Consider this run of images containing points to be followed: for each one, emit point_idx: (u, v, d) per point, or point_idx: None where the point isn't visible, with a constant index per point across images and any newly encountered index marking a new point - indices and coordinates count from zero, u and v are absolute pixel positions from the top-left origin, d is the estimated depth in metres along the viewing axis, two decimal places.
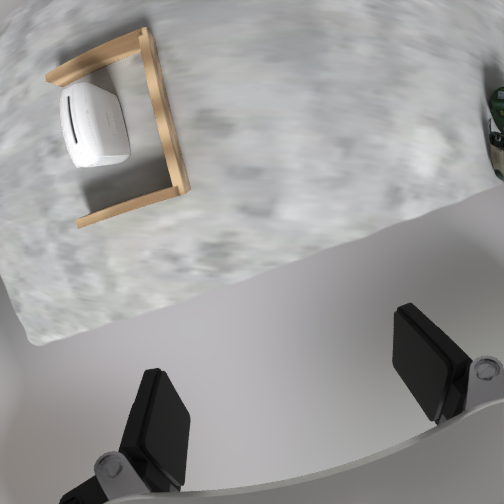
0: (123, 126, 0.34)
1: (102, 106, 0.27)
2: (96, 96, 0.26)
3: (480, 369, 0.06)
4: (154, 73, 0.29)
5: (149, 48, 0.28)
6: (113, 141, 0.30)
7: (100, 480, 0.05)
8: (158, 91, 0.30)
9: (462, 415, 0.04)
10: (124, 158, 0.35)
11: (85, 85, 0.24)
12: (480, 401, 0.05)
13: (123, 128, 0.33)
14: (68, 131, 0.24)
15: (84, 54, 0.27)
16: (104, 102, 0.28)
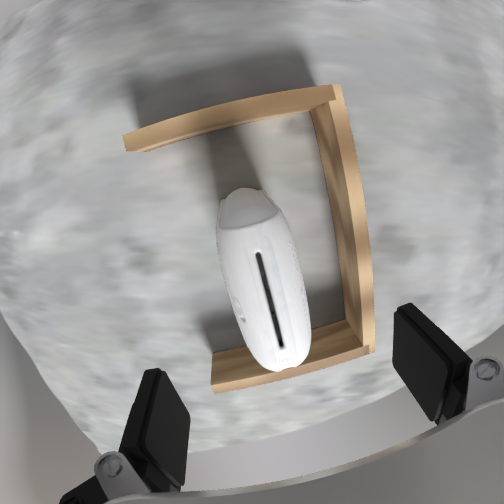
0: None
1: None
2: None
3: (480, 369, 0.06)
4: (360, 183, 0.20)
5: (349, 131, 0.19)
6: None
7: (100, 480, 0.05)
8: (365, 216, 0.21)
9: (462, 415, 0.04)
10: None
11: (284, 221, 0.15)
12: (480, 401, 0.05)
13: None
14: (269, 333, 0.15)
15: (216, 109, 0.18)
16: None
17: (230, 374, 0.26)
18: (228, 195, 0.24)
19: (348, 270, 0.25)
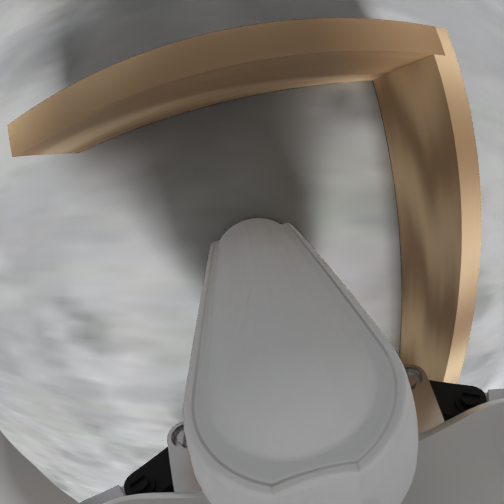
0: None
1: None
2: None
3: None
4: (479, 221, 0.09)
5: (469, 120, 0.07)
6: None
7: (177, 451, 0.06)
8: (476, 281, 0.09)
9: (462, 415, 0.04)
10: None
11: None
12: None
13: None
14: None
15: (194, 45, 0.06)
16: None
17: None
18: (225, 234, 0.13)
19: (420, 351, 0.14)
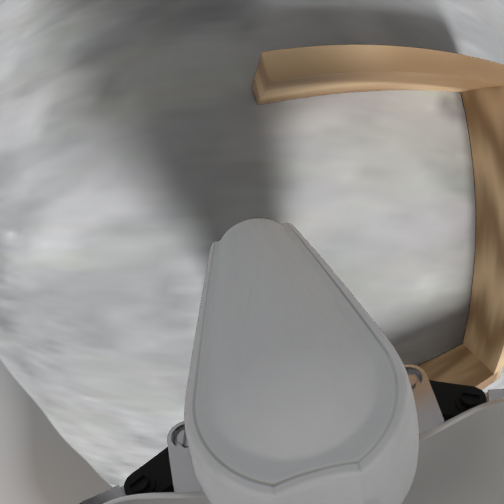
0: None
1: None
2: None
3: None
4: None
5: None
6: None
7: (177, 451, 0.06)
8: None
9: (462, 415, 0.04)
10: None
11: (413, 401, 0.04)
12: None
13: None
14: None
15: (415, 53, 0.09)
16: None
17: None
18: (225, 234, 0.13)
19: (491, 290, 0.16)
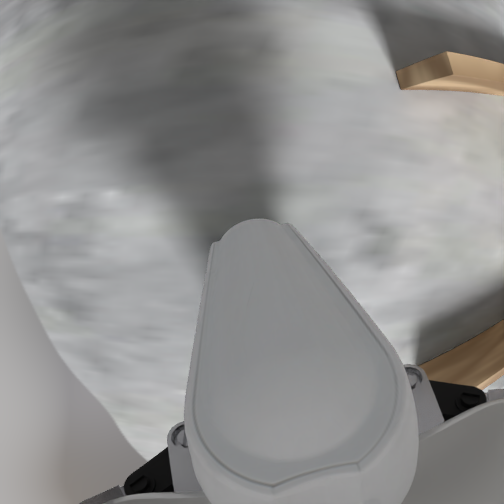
0: None
1: None
2: None
3: None
4: None
5: None
6: None
7: (178, 451, 0.06)
8: None
9: (462, 415, 0.04)
10: None
11: (413, 401, 0.04)
12: None
13: None
14: None
15: None
16: None
17: None
18: (225, 234, 0.13)
19: None
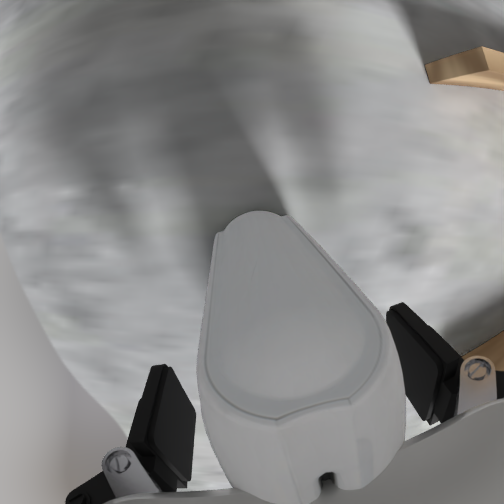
0: None
1: None
2: None
3: (471, 369, 0.06)
4: None
5: None
6: None
7: (108, 476, 0.05)
8: None
9: (462, 415, 0.04)
10: None
11: (397, 357, 0.04)
12: (470, 401, 0.05)
13: None
14: None
15: None
16: None
17: None
18: (229, 225, 0.13)
19: None
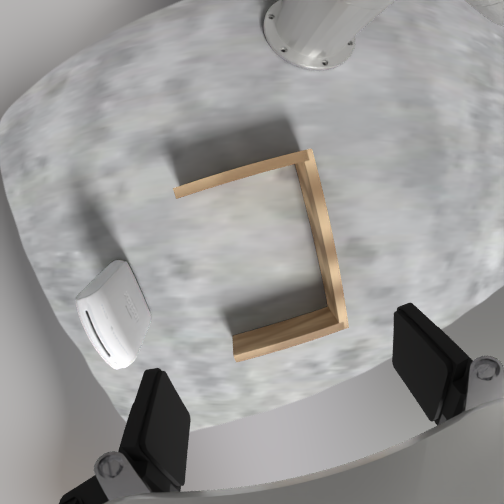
0: (140, 296, 0.37)
1: (120, 303, 0.31)
2: (113, 298, 0.29)
3: (480, 369, 0.06)
4: (326, 213, 0.32)
5: (319, 180, 0.31)
6: (138, 331, 0.33)
7: (100, 480, 0.05)
8: (331, 234, 0.33)
9: (462, 415, 0.04)
10: None
11: (100, 294, 0.27)
12: (480, 401, 0.05)
13: (141, 301, 0.37)
14: (98, 347, 0.27)
15: (233, 172, 0.30)
16: (120, 294, 0.31)
17: (247, 347, 0.38)
18: None
19: (324, 270, 0.37)
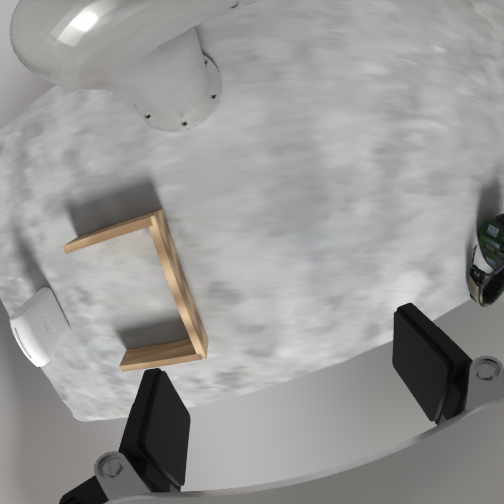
0: (60, 315, 0.44)
1: (39, 322, 0.37)
2: (32, 319, 0.36)
3: (480, 369, 0.06)
4: (170, 268, 0.39)
5: (162, 241, 0.38)
6: (54, 341, 0.40)
7: (100, 480, 0.05)
8: (176, 285, 0.40)
9: (462, 415, 0.04)
10: None
11: (22, 317, 0.34)
12: (480, 401, 0.05)
13: (60, 318, 0.43)
14: (24, 351, 0.34)
15: (98, 235, 0.37)
16: (40, 315, 0.38)
17: (129, 361, 0.44)
18: None
19: None
